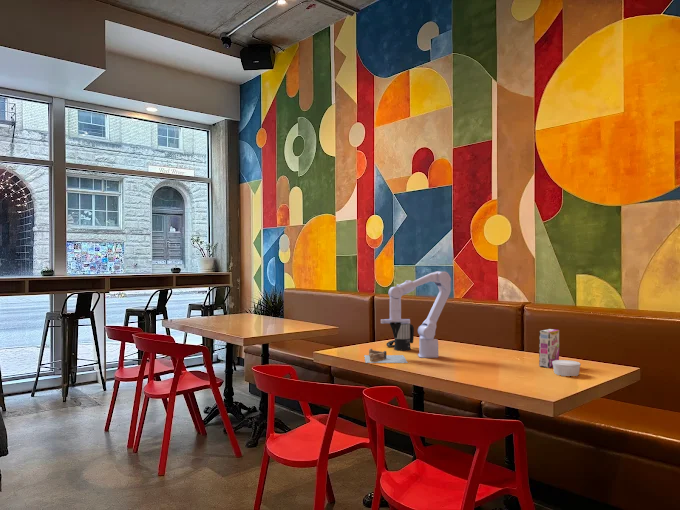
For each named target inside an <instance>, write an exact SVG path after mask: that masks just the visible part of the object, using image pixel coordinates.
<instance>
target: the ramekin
mask: <svg viewBox="0 0 680 510" xmlns="http://www.w3.org/2000/svg"><path fill="white" fill-rule="evenodd" d="M552 364H553V367H552V368H553V373H554V374H555V375H556V374H557V375H556V376H559V375H561V376H560V377H565V376H576V377H577V376H579V374H580V368H581V363H580V362H579V361H575V360H569V359H568V360H567V359H559V360H555V361H552Z"/></svg>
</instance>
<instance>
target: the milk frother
mask: <svg viewBox="0 0 680 510" xmlns="http://www.w3.org/2000/svg"><path fill="white" fill-rule="evenodd" d="M395 324H396V323H395ZM414 332H415V328H414V326H413V324H411V322H410V323H401V326H400V329H399V331H398V335H397V338H394V339H391V340H390V341H388V342H387V343H386V344H385V345H386V346H387V348H393V350H395V351H400V352H401V351H403V352H404V351H411V349H412V348H411V344H413V343H414V337H415V333H414Z"/></svg>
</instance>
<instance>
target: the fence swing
mask: <svg viewBox="0 0 680 510" xmlns="http://www.w3.org/2000/svg"><path fill="white" fill-rule="evenodd" d="M379 359H384V353H378V354H373V353H370V361H374V360H379Z"/></svg>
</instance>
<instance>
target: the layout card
mask: <svg viewBox="0 0 680 510" xmlns="http://www.w3.org/2000/svg"><path fill="white" fill-rule="evenodd" d="M363 356H364V357H365V358H364V361H365V364H408V361H407V359H406V357H405V356H404V355H403V354H401V355H399V354H392V355H391V354H386V359H379V360H374V361H370V356H369V354H368V355H367V354H365V355H363Z"/></svg>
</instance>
